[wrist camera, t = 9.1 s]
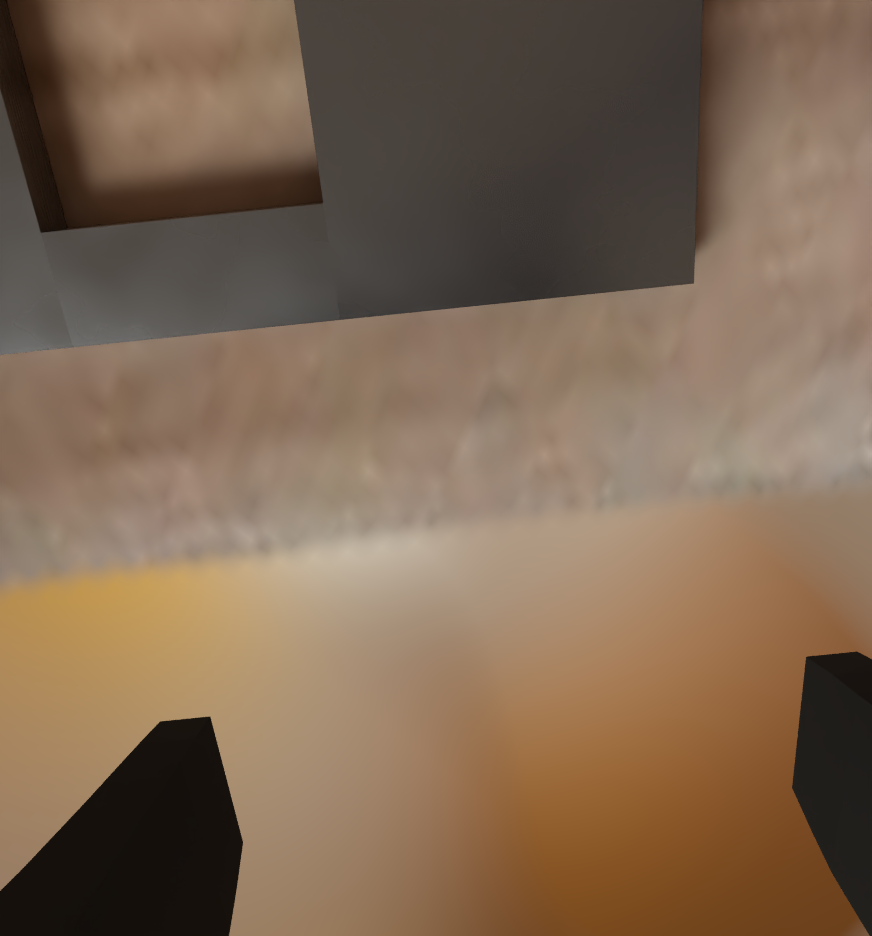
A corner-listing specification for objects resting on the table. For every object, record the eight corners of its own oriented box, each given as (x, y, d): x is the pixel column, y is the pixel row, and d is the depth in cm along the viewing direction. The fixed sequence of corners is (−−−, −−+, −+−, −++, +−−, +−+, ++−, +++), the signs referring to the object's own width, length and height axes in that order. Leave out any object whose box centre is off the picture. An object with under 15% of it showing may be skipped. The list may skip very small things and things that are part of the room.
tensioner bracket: (687, -328, 13) (715, -376, 12) (674, 275, 16) (693, 283, 15) (-484, -203, 13) (-569, -238, 12) (-232, 368, 16) (-278, 383, 15)
